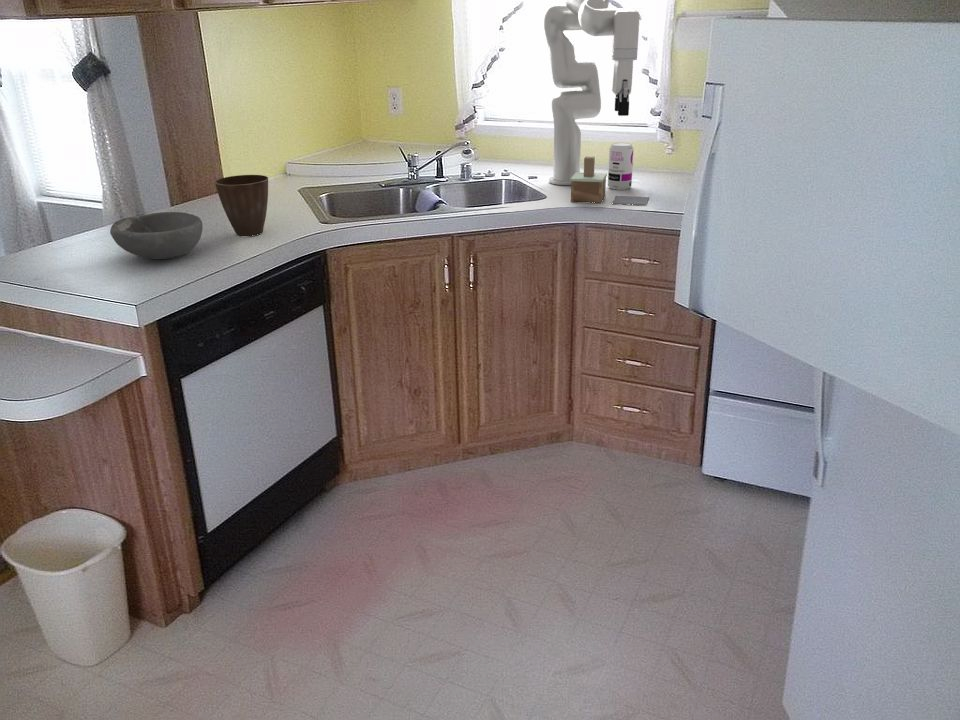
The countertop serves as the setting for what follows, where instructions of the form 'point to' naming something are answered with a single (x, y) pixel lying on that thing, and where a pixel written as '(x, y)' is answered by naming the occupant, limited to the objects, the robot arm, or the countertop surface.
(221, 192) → the plant pot
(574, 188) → the tea box
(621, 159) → the supplement can
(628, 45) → the robot arm
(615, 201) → the coaster
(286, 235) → the countertop surface
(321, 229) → the countertop surface
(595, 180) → the lid
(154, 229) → the bowl
